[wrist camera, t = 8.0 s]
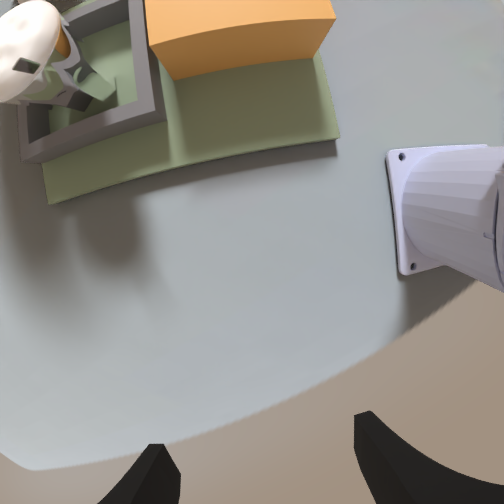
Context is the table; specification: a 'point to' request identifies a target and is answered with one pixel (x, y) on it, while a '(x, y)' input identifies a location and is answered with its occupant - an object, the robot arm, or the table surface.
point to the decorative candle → (23, 1)
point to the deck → (186, 89)
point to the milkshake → (50, 63)
